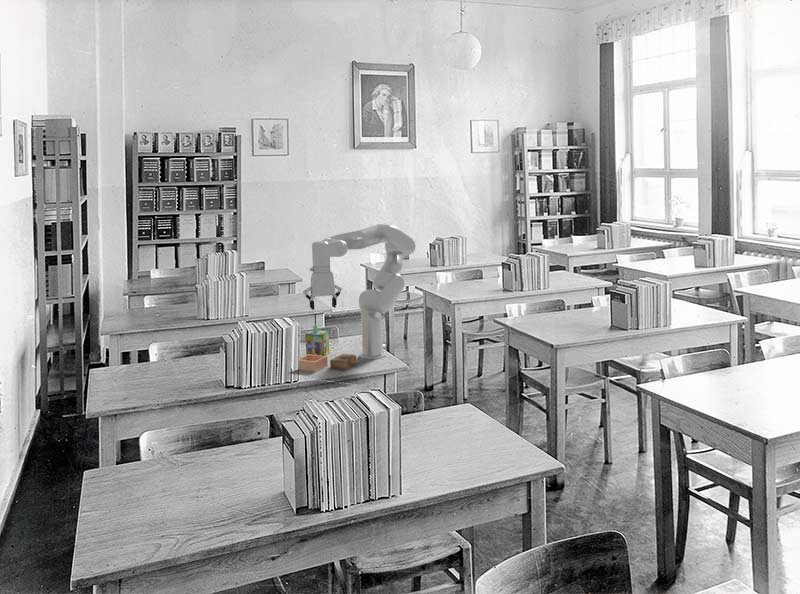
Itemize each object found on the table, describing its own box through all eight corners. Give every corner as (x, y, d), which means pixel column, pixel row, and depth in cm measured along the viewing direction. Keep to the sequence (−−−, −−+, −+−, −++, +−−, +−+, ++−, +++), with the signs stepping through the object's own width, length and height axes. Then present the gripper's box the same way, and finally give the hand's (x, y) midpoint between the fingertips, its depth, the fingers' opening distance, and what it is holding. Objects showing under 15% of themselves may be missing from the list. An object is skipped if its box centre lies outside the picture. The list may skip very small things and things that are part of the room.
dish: (308, 364, 333) (308, 354, 332) (327, 367, 328) (327, 356, 328) (296, 370, 324) (296, 359, 323) (316, 373, 320) (315, 362, 319)
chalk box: (324, 358, 342) (323, 327, 340) (305, 358, 344) (304, 327, 341) (330, 353, 351) (329, 323, 348) (311, 353, 353) (310, 323, 350)
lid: (342, 362, 334) (342, 352, 333) (356, 363, 331) (355, 353, 330) (330, 368, 324) (330, 358, 323) (344, 370, 321) (344, 359, 320)
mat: (341, 362, 336) (341, 361, 336) (360, 364, 331) (360, 363, 331) (325, 370, 323) (325, 369, 323) (345, 372, 319) (345, 371, 319)
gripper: (304, 272, 313) (306, 311, 316) (343, 269, 319) (344, 307, 322) (300, 270, 320) (302, 308, 323) (338, 267, 326) (339, 304, 329)
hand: (323, 308), depth 322 cm, fingers open, 9 cm apart
